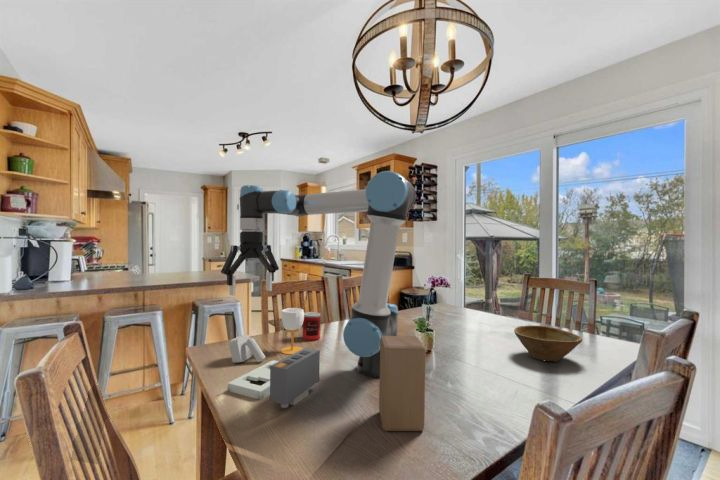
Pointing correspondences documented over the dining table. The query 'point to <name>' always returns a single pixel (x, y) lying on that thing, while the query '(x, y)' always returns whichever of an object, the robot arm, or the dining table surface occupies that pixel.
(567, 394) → the dining table surface
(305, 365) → the grey slotted block
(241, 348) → the wall hook
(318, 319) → the canned food
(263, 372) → the keyhole board
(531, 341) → the bowl
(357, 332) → the robot arm
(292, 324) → the cup
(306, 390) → the foam block
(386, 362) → the wooden block
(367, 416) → the dining table surface
